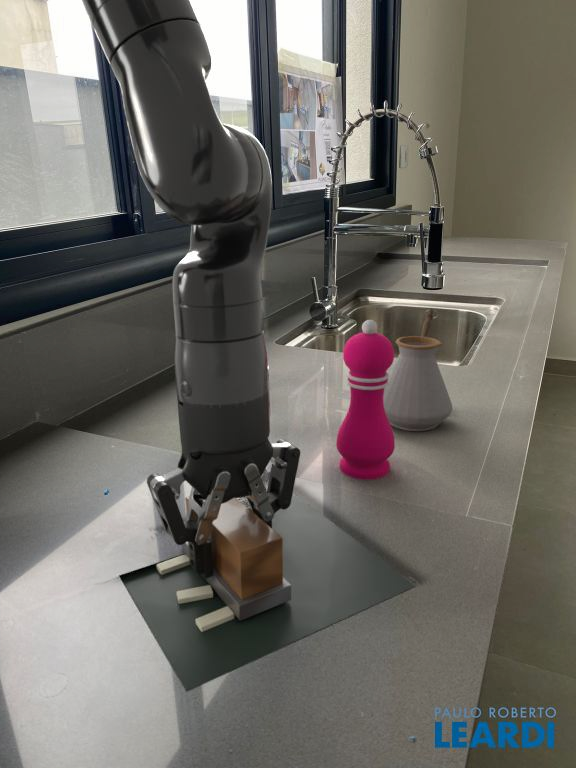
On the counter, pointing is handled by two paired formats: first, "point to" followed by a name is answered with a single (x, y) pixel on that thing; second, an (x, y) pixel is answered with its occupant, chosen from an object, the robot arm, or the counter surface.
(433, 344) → the coffee pot
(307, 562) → the chalkboard
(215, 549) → the eraser
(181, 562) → the cream rectangular block
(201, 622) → the off-white small bar
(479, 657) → the counter surface
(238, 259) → the robot arm
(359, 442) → the pepper mill
